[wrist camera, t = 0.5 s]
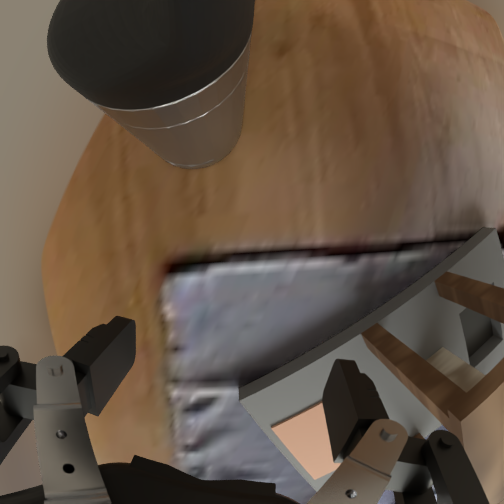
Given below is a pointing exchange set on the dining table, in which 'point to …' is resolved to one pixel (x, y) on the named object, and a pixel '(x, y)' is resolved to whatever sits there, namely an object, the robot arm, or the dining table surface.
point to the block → (455, 369)
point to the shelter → (448, 393)
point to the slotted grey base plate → (387, 384)
